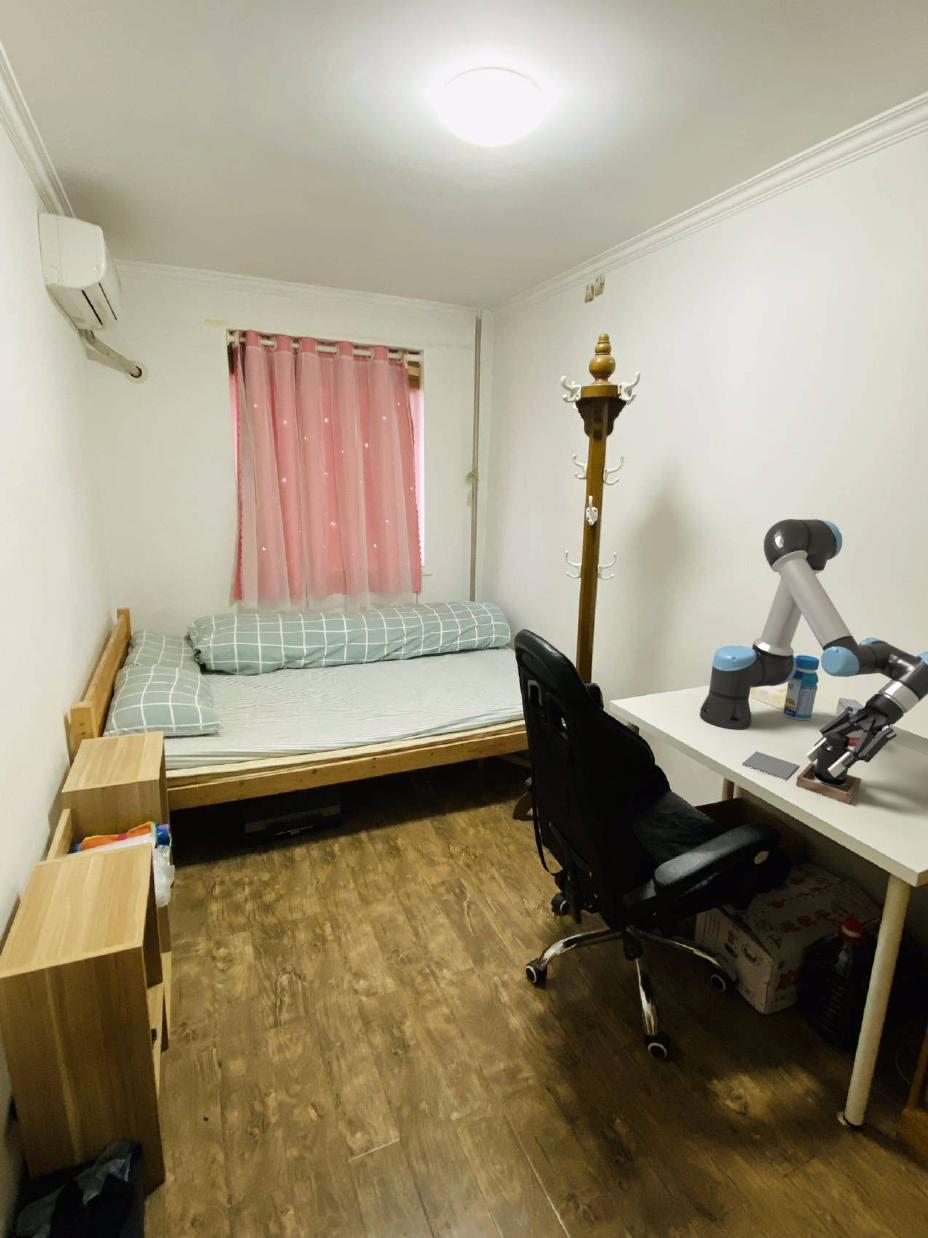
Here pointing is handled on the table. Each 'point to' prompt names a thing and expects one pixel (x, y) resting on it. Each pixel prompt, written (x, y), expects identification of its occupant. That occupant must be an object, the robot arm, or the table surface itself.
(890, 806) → the table surface
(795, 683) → the beverage bottle
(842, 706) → the ink box
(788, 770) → the grey rubber mat
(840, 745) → the supplement bottle
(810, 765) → the walnut open box
